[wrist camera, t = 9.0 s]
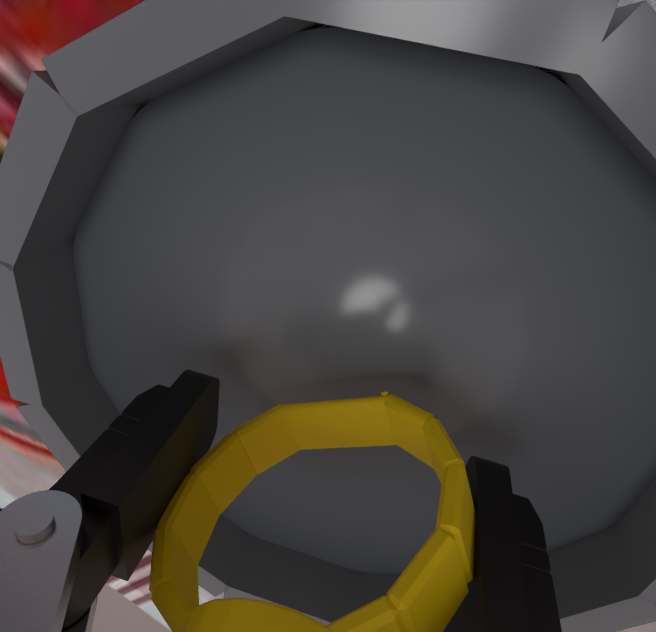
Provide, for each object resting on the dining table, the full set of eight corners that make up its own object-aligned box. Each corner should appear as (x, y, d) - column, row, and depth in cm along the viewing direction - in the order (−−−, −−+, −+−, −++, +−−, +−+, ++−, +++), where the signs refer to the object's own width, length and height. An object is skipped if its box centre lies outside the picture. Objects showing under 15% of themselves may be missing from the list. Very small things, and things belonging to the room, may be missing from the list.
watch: (448, 350, 10) (480, 657, 5) (469, 446, 11) (514, 776, 6) (207, 389, 12) (42, 647, 7) (247, 469, 13) (134, 741, 8)
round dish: (1022, 85, 7) (1260, 100, 5) (544, 635, 17) (557, 719, 14) (3, -100, 9) (-131, -145, 7) (94, 483, 19) (48, 538, 17)
